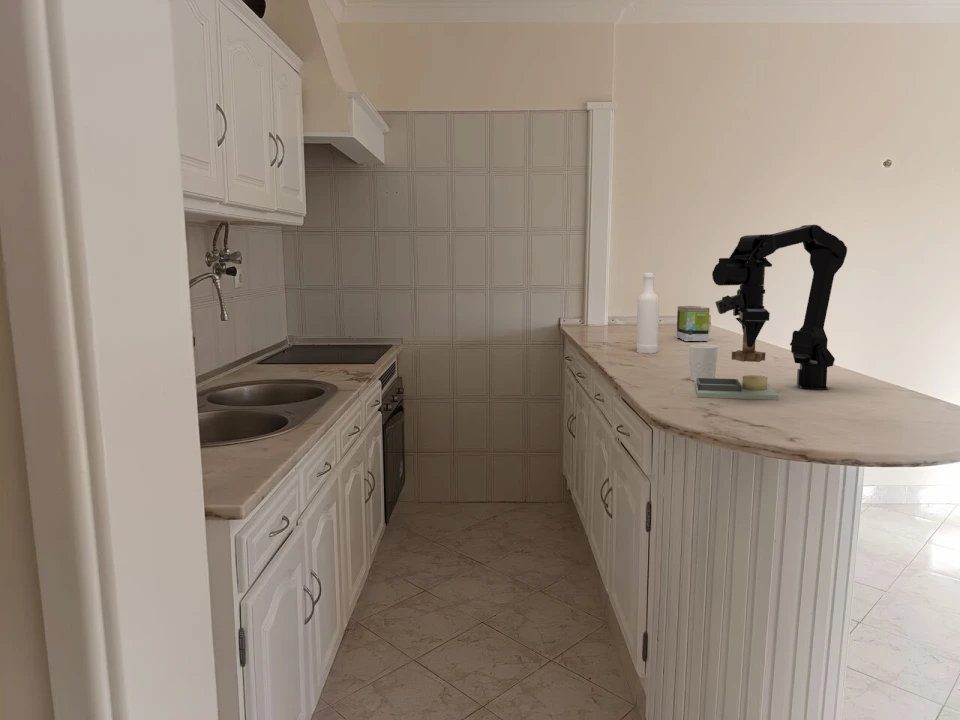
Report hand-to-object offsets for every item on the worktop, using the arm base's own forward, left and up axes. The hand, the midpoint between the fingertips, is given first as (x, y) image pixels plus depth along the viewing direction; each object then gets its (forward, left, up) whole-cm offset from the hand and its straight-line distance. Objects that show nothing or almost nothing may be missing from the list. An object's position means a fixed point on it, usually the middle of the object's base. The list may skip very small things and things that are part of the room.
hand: (748, 346), depth 176 cm
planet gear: (0, 0, -4) cm, 4 cm away
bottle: (+27, -80, -13) cm, 86 cm away
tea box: (+9, -123, -13) cm, 124 cm away
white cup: (+10, -20, -13) cm, 26 cm away
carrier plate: (+3, -2, -13) cm, 13 cm away
